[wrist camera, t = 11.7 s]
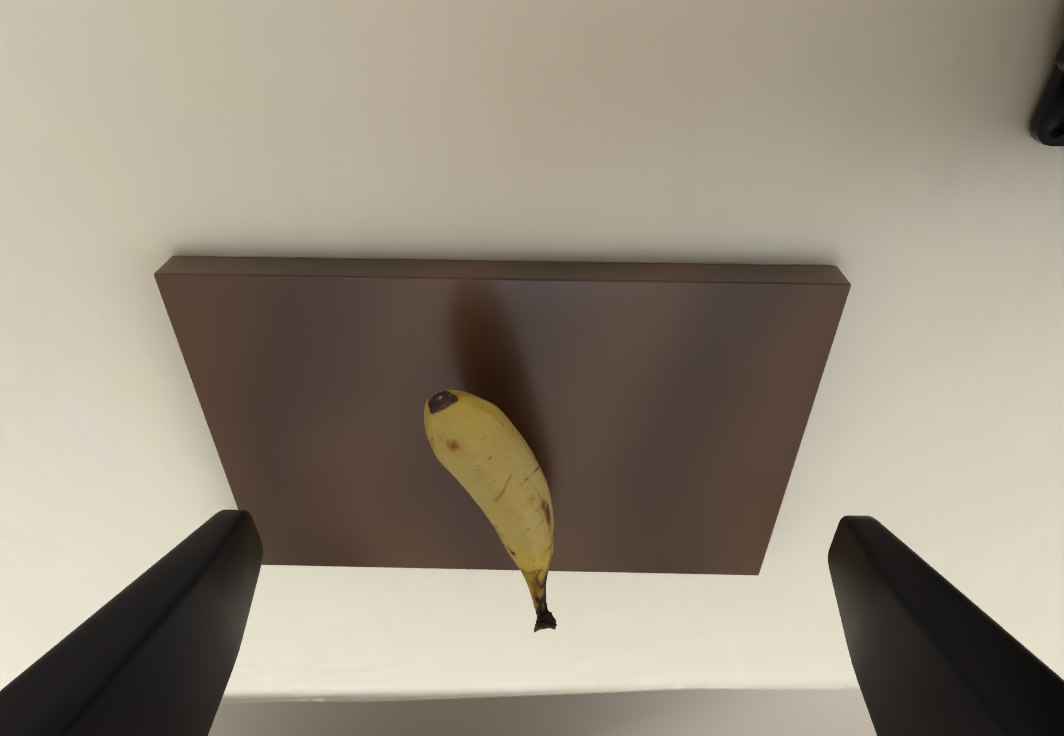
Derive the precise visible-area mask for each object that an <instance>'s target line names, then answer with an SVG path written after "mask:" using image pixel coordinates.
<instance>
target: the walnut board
mask: <svg viewBox="0 0 1064 736" xmlns="http://www.w3.org/2000/svg"><path fill="white" fill-rule="evenodd" d="M154 276H155V279H156V282H157V285H158V288H159V290H160V293H161V296H162V299H163V302H164V304H165V307H166V310H167V313H168V315H169V318H170V321H171V324H172V327H173V329H174V332H175V335H176V338H177V340H178V343H179V346H180V349H181V352H182V354H183V357H184V360H185V363H186V365H187V368H188V371H189V374H190V377H191V379H192V382H193V385H194V388H195V391H196V393H197V396H198V399H199V402H200V404H201V407H202V410H203V413H204V416H205V418H206V421H207V424H208V427H209V429H210V432H211V435H212V438H213V441H214V443H215V446H216V449H217V452H218V454H219V457H220V460H221V463H222V466H223V468H224V471H225V474H226V477H227V479H228V482H229V485H230V488H231V491H232V493H233V496H234V499H235V502H236V505H237V507H238V510H246V511H248V512H249V513H250V514H251V516H252V518H253V520H254V523H255V526H256V528H257V531H258V533H259V536H260V539H261V541H262V544H263V560H262V564H261V565H299V566H346V567H393V568H440V569H488V570H520V569H519V567H518V566H517V565H516V563H515V562H514V560H513V559H512V558H511V556H510V555H509V553H508V551H507V550H506V548H505V546H504V544H503V542H502V541H501V539H500V537H499V535H498V533H497V531H496V529H495V528H494V526H493V525H492V523H491V522H490V520H489V519H488V518H487V516H486V515H485V513H484V512H483V511H482V509H481V508H480V507H479V505H478V504H477V503H476V502H475V500H474V499H473V498H472V497H471V495H470V494H469V493H468V492H467V491H466V489H465V488H464V487H463V486H462V485H461V484H460V482H459V481H458V480H457V479H456V478H455V477H454V476H453V475H452V474H451V473H450V472H449V471H448V470H447V469H446V468H445V467H444V466H443V465H442V464H441V462H440V461H439V460H438V458H437V457H436V455H435V453H434V451H433V449H432V447H431V444H430V442H429V439H428V437H427V434H426V431H425V425H424V409H425V404H426V401H427V400H428V399H429V397H430V396H432V395H433V394H435V393H436V392H439V391H442V390H460V391H465V392H467V393H470V394H472V395H475V396H477V397H479V398H481V399H484V400H486V401H489V402H491V403H492V404H494V405H495V406H497V407H498V408H499V409H500V410H501V411H502V412H503V413H504V414H505V415H506V416H507V418H508V419H509V420H510V421H511V423H512V424H513V425H514V427H515V428H516V429H517V430H518V432H519V433H520V434H521V436H522V437H523V438H524V440H525V441H526V443H527V444H528V446H529V448H530V449H531V451H532V452H533V454H534V456H535V458H536V460H537V462H538V464H539V465H540V468H541V470H542V472H543V474H544V477H545V479H546V482H547V485H548V488H549V492H550V496H551V502H552V508H553V515H554V530H553V554H552V558H551V562H550V566H549V570H548V571H582V572H629V573H676V574H724V575H759V572H760V569H761V566H762V563H763V560H764V557H765V553H766V550H767V547H768V544H769V541H770V538H771V535H772V531H773V528H774V525H775V522H776V519H777V516H778V513H779V509H780V506H781V503H782V500H783V497H784V494H785V491H786V487H787V484H788V481H789V478H790V475H791V472H792V469H793V465H794V462H795V459H796V456H797V453H798V450H799V447H800V443H801V440H802V437H803V434H804V431H805V428H806V425H807V421H808V418H809V415H810V412H811V409H812V406H813V403H814V400H815V396H816V393H817V390H818V387H819V384H820V381H821V378H822V374H823V371H824V368H825V365H826V362H827V359H828V356H829V352H830V349H831V346H832V343H833V340H834V337H835V334H836V330H837V327H838V324H839V321H840V318H841V315H842V312H843V308H844V305H845V302H846V299H847V296H848V293H849V290H850V286H851V284H850V282H849V281H848V280H847V279H846V277H845V276H844V275H843V274H842V272H841V271H840V270H839V268H838V267H837V266H798V265H730V264H662V263H594V262H526V261H458V260H390V259H322V258H254V257H186V256H173V257H171V258H170V259H169V260H168V261H167V262H166V263H165V264H164V265H163V266H162V267H160V268H159V269H158V270H157V271H156V272H155V273H154Z"/></svg>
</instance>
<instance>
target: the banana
mask: <svg viewBox="0 0 1064 736" xmlns="http://www.w3.org/2000/svg"><path fill="white" fill-rule="evenodd" d="M424 425H425V431H426V434H427V437H428V439H429V442H430V444H431V447H432V449H433V451H434V453H435V455H436V457H437V458H438V460H439V461H440V462H441V464H442V465H443V466H444V467H445V468H446V469H447V470H448V471H449V472H450V473H451V474H452V475H453V476H454V477H455V478H456V479H457V480H458V481H459V482H460V484H461V485H462V486H463V487H464V488H465V489H466V491H467V492H468V493H469V494H470V495H471V497H472V498H473V499H474V500H475V502H476V503H477V504H478V505H479V507H480V508H481V509H482V511H483V512H484V513H485V515H486V516H487V518H488V519H489V520H490V522H491V523H492V525H493V526H494V528H495V529H496V531H497V533H498V535H499V537H500V539H501V541H502V542H503V544H504V546H505V548H506V550H507V551H508V553H509V555H510V556H511V558H512V559H513V560H514V562H515V563H516V565H517V566H518V567H519V569H520V570H521V572H522V573H523V575H524V577H525V580H526V582H527V584H528V587H529V590H530V593H531V596H532V599H533V603H534V607H535V610H536V614H537V620H536V624H535V628H534V632H536V631H538V630H540V629H546V628H552V629H556V628H555V627H556V626H557V624H556V620H555V618H554V617H553V616H552V612H549V611H548V609H547V603H546V580H547V574H548V570H549V566H550V562H551V558H552V554H553V530H554V515H553V508H552V502H551V496H550V492H549V488H548V485H547V482H546V479H545V477H544V474H543V472H542V470H541V468H540V465H539V464H538V462H537V460H536V458H535V456H534V454H533V452H532V451H531V449H530V448H529V446H528V444H527V443H526V441H525V440H524V438H523V437H522V436H521V434H520V433H519V432H518V430H517V429H516V428H515V427H514V425H513V424H512V423H511V421H510V420H509V419H508V418H507V416H506V415H505V414H504V413H503V412H502V411H501V410H500V409H499V408H498V407H497V406H495V405H494V404H492V403H491V402H489V401H486V400H484V399H481V398H479V397H477V396H475V395H472V394H470V393H467V392H465V391H460V390H442V391H439V392H436V393H435V394H433V395H432V396H430V397H429V399H428V400H427V401H426V404H425V409H424Z"/></svg>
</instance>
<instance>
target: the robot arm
mask: <svg viewBox="0 0 1064 736" xmlns="http://www.w3.org/2000/svg"><path fill="white" fill-rule="evenodd" d="M1061 116H1062V118H1061V122H1060V124H1059V125H1058V126H1057V127H1056V128H1055V129H1053V130H1052V131H1049V128H1050V125H1051V124H1052V122H1053V121H1054V120H1055V119H1057V118H1058V117H1061ZM1029 131H1030V135H1031V136H1032V137H1033V138H1034V139H1035V140H1036V141H1038V142H1040V143H1042V144H1044V145H1049V146H1064V40H1063V42H1062V44H1061V47H1060V49H1059V52H1058V54H1057V56H1056V64H1055V66H1054V69H1053V71H1052V73H1051V76H1050V78H1049V80H1048V83H1047V85H1046V87H1045V90H1044V92H1043V94H1042V97H1041V99H1040V101H1039V104H1038V106H1037V108H1036V111H1035V113H1034V115H1033V118H1032V120H1031V123H1030V128H1029ZM262 560H263V544H262V541H261V539H260V536H259V533H258V531H257V528H256V526H255V523H254V520H253V518H252V516H251V514H250V513H249V512H248V511H246V510H222V511H220V512H218V513H216V514H215V515H214V516H212V517H211V518H210V519H209V520H208V521H206V522H205V523H204V524H203V525H201V526H200V527H199V528H198V529H197V530H195V531H194V532H193V533H192V534H191V535H189V536H188V537H187V538H186V539H184V540H183V541H182V542H181V543H180V544H178V545H177V546H176V547H175V548H173V549H172V550H171V551H170V552H169V553H167V554H166V555H165V556H164V557H163V558H161V559H160V560H159V561H158V562H156V563H155V564H154V565H153V566H152V567H150V568H149V569H148V570H147V571H145V572H144V573H143V574H142V575H141V576H139V577H138V578H137V579H136V580H135V581H133V582H132V583H131V584H130V585H128V586H127V587H126V588H125V589H124V590H122V591H121V592H120V593H119V594H118V595H116V596H115V597H114V598H113V599H111V600H110V601H109V602H108V603H107V604H105V605H104V606H103V607H102V608H100V609H99V610H98V611H97V612H96V613H94V614H93V615H92V616H91V617H90V618H88V619H87V620H86V621H85V622H83V623H82V624H81V625H80V626H79V627H77V628H76V629H75V630H74V631H72V632H71V633H70V634H69V635H68V636H66V637H65V638H64V639H63V640H62V641H60V642H59V643H58V644H57V645H55V646H54V647H53V648H52V649H51V650H49V651H48V652H47V653H46V654H45V655H43V656H42V657H41V658H40V659H38V660H37V661H36V662H35V663H34V664H32V665H31V666H30V667H29V668H27V669H26V670H25V671H24V672H23V673H21V674H20V675H19V676H18V677H17V678H15V679H14V680H13V681H12V682H10V683H9V684H8V685H7V686H6V687H4V688H3V689H2V690H1V691H0V736H208V734H209V731H210V728H211V726H212V723H213V720H214V718H215V715H216V712H217V710H218V707H219V704H220V702H221V699H222V696H223V694H224V691H225V688H226V686H227V683H228V680H229V678H230V675H231V672H232V670H233V667H234V664H235V661H236V658H237V655H238V652H239V649H240V645H241V642H242V638H243V634H244V631H245V627H246V623H247V619H248V615H249V611H250V607H251V603H252V599H253V595H254V591H255V588H256V584H257V580H258V576H259V572H260V568H261V564H262ZM828 565H829V570H830V574H831V578H832V582H833V587H834V591H835V595H836V599H837V604H838V608H839V612H840V616H841V621H842V625H843V629H844V633H845V638H846V642H847V646H848V650H849V654H850V658H851V661H852V665H853V668H854V671H855V674H856V677H857V680H858V683H859V686H860V689H861V691H862V694H863V697H864V700H865V703H866V706H867V708H868V711H869V714H870V717H871V720H872V722H873V725H874V728H875V731H876V734H877V736H1064V680H1063V679H1062V678H1060V677H1059V676H1058V675H1057V674H1056V673H1055V672H1053V671H1052V670H1051V669H1050V668H1049V667H1048V666H1047V665H1045V664H1044V663H1043V662H1042V661H1041V660H1040V659H1038V658H1037V657H1036V656H1035V655H1034V654H1033V653H1031V652H1030V651H1029V650H1028V649H1027V648H1026V647H1024V646H1023V645H1022V644H1021V643H1020V642H1019V641H1017V640H1016V639H1015V638H1014V637H1013V636H1012V635H1010V634H1009V633H1008V632H1007V631H1006V630H1005V629H1003V628H1002V627H1001V626H1000V625H999V624H998V623H996V622H995V621H994V620H993V619H992V618H991V617H989V616H988V615H987V614H986V613H985V612H984V611H982V610H981V609H980V608H979V607H978V606H977V605H975V604H974V603H973V602H972V601H971V600H970V599H968V598H967V597H966V596H965V595H964V594H963V593H961V592H960V591H959V590H958V589H957V588H956V587H954V586H953V585H952V584H951V583H950V582H949V581H947V580H946V579H945V578H944V577H943V576H942V575H940V574H939V573H938V572H937V571H936V570H935V569H933V568H932V567H931V566H930V565H929V564H928V563H926V562H925V561H924V560H923V559H922V558H921V557H919V556H918V555H917V554H916V553H915V552H914V551H912V550H911V549H910V548H909V547H908V546H907V545H905V544H904V543H903V542H902V541H901V540H900V539H898V538H897V537H896V536H895V535H894V534H893V533H891V532H890V531H889V530H888V529H887V528H886V527H884V526H883V525H882V524H881V523H880V522H879V521H877V520H876V519H874V518H873V517H870V516H844V517H843V518H842V519H841V520H840V522H839V524H838V527H837V530H836V532H835V535H834V538H833V541H832V543H831V546H830V549H829V553H828Z"/></svg>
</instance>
